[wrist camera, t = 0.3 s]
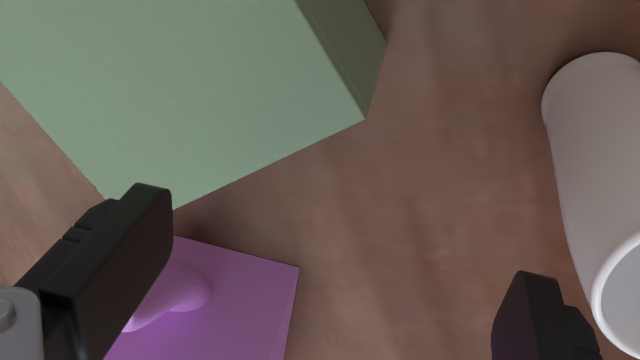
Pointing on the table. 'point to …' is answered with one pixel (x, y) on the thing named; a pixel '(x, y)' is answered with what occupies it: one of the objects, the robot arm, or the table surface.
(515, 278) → the robot arm
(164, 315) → the teapot
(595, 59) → the drinking glass
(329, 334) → the table surface
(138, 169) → the cabinet
